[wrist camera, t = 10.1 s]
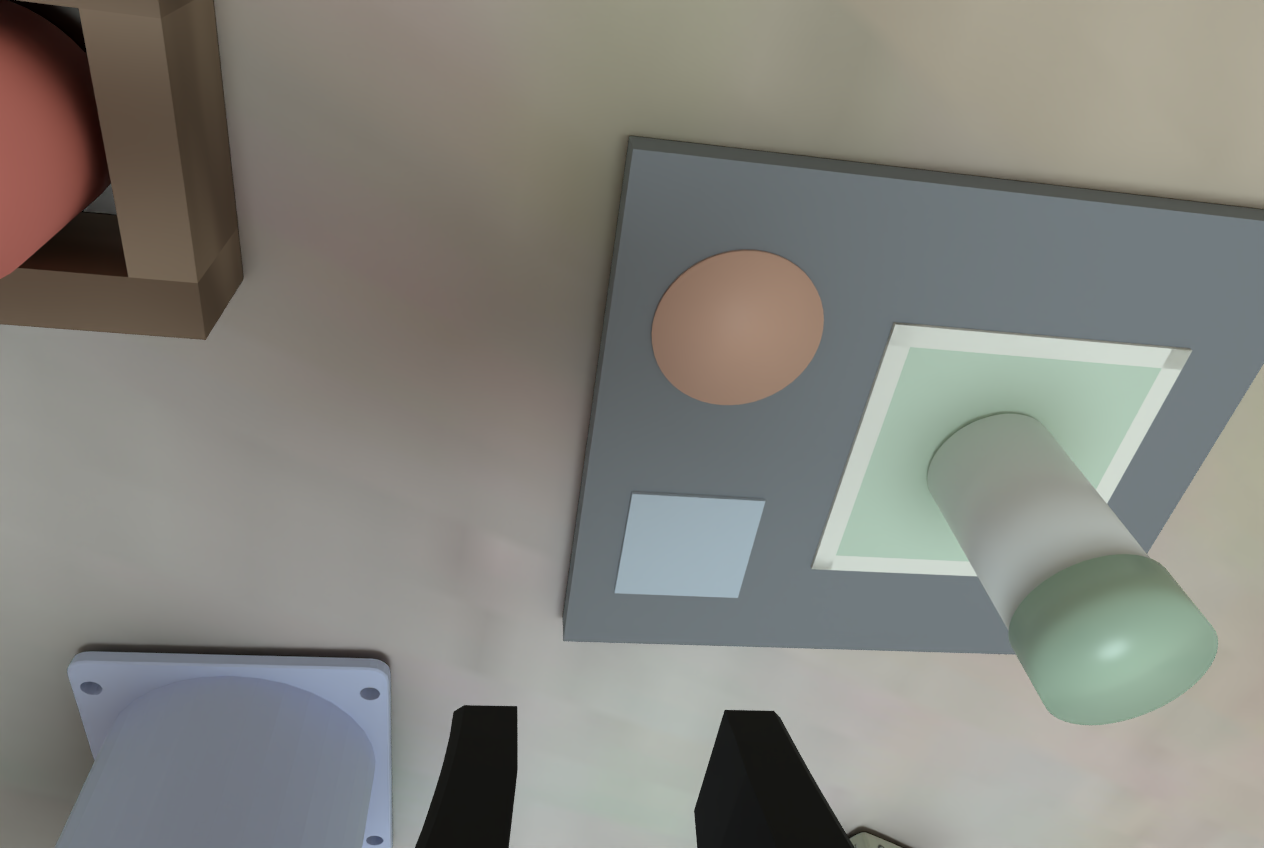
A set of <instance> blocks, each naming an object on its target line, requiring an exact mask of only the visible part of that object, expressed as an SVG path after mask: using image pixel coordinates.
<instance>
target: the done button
mask: <svg viewBox="0 0 1264 848" xmlns="http://www.w3.org/2000/svg"><path fill="white" fill-rule="evenodd" d="M110 183H111V180H110V175H109V169H108V164H107V159H106V153H105V148H104V142H103V137H102V132H101V126H100V121H99V115H98V110H97V105H96V99H95V94H94V88H93V83H92V78H91V72H90V67H89V62H88V56H87V55H86V53H85V52H84V51H83V50H82V49H81V48H80V47H79V46H78V45H77V44H76V43H75V42H74V41H73V40H72V39H71V38H70V37H68V36H67V35H66V34H65V33H64V32H63V31H61V30H60V29H59V28H58V27H56V26H55V25H53V24H52V23H50V22H49V21H48V20H46V19H45V18H43V17H41V16H40V15H38V14H36V13H34V12H32V11H31V10H29V9H27V8H25V7H22V6H20V5H18V4H15V3H13V2H11V1H8V0H0V279H1V278H3V277H5V276H7V275H8V274H10V273H12V272H13V271H14V270H15V269H17V268H18V267H19V266H20V265H22V264H23V263H24V262H25V261H26V260H27V259H28V258H29V257H31V256H32V255H33V254H34V253H35V252H36V251H37V250H39V249H40V248H41V247H42V246H43V245H44V244H45V243H46V242H48V241H49V240H50V239H51V238H52V237H53V236H54V235H55V234H57V233H58V232H59V231H60V230H61V229H62V228H63V227H65V226H66V225H67V224H68V223H69V222H70V221H71V220H72V219H74V218H75V217H76V216H77V215H78V214H79V213H80V212H81V211H83V210H84V209H85V208H86V207H87V206H88V205H89V204H90V203H92V202H93V201H94V200H95V199H96V198H97V197H98V196H100V195H101V194H102V193H103V192H104V190H105V189H106V188H107V187H108V186H109V185H110Z"/></svg>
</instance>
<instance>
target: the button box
mask: <svg viewBox="0 0 1264 848" xmlns="http://www.w3.org/2000/svg"><path fill="white" fill-rule="evenodd" d="M18 1H26V2H34V3H42V4H50V5H58V6H66V7H74V8H79V13H80V18H81V24H82V29H83V35H84V40H85V45H86V51H87V56H88V62H89V67H90V72H91V78H92V83H93V88H94V94H95V99H96V105H97V110H98V115H99V121H100V126H101V132H102V137H103V142H104V148H105V153H106V159H107V164H108V169H109V175H110V180H111V186H112V191H113V196H114V202H115V207H116V212H117V216H116V215H106V214H95V213H85V212H80V213H79V214H78V215H77V216H76V217H75V218H74V219H72V220H71V221H70V222H69V223H68V224H67V225H66V226H65V227H63V228H62V229H61V230H60V231H59V232H58V233H57V234H55V235H54V236H53V237H52V238H51V239H50V240H49V241H48V242H46V243H45V244H44V245H43V246H42V247H41V248H40V249H39V250H37V251H36V252H35V253H34V254H33V255H32V256H31V257H29V258H28V259H27V260H26V261H25V262H24V263H23V264H22V265H20V266H19V267H18V268H17V269H15V270H14V271H13V272H12V273H10V274H8V275H7V276H5V277H3V278H1V279H0V324H5V325H18V326H31V327H44V328H58V329H71V330H84V331H97V332H110V333H123V334H137V335H150V336H163V337H176V338H189V339H202V340H206V338H207V337H208V335H209V334H210V332H211V330H212V329H213V327H214V326H215V324H216V322H217V321H218V319H219V317H220V316H221V314H222V313H223V311H224V309H225V308H226V306H227V305H228V303H229V301H230V300H231V298H232V297H233V295H234V293H235V292H236V290H237V289H238V287H239V285H240V284H241V282H242V281H243V270H242V261H241V251H240V242H239V233H238V224H237V214H236V205H235V196H234V187H233V177H232V168H231V159H230V150H229V141H228V131H227V122H226V113H225V104H224V94H223V85H222V76H221V67H220V57H219V48H218V39H217V30H216V20H215V11H214V2H213V0H18Z"/></svg>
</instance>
